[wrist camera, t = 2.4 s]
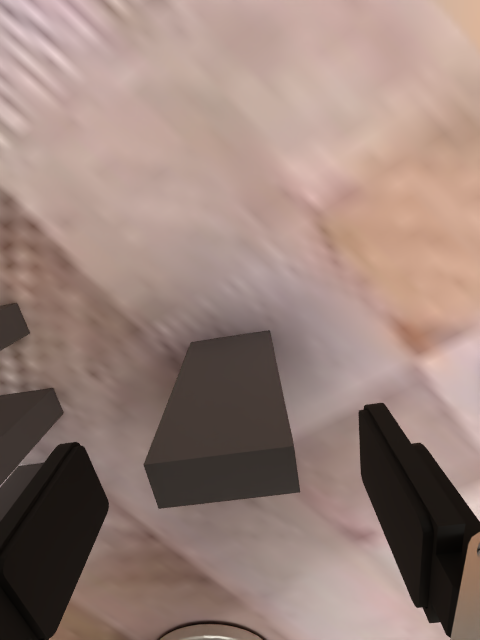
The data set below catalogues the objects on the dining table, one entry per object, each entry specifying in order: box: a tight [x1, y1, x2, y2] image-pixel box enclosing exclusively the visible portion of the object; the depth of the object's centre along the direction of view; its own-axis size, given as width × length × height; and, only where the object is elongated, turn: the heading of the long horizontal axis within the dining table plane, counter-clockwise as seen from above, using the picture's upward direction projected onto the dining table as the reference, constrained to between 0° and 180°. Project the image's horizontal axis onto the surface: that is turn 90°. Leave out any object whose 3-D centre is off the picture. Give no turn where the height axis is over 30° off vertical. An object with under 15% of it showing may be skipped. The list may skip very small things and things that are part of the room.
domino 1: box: [0, 463, 44, 521], centre depth 19 cm, size 2×5×10 cm, turn 99°
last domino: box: [144, 331, 300, 509], centre depth 15 cm, size 2×5×10 cm, turn 99°
